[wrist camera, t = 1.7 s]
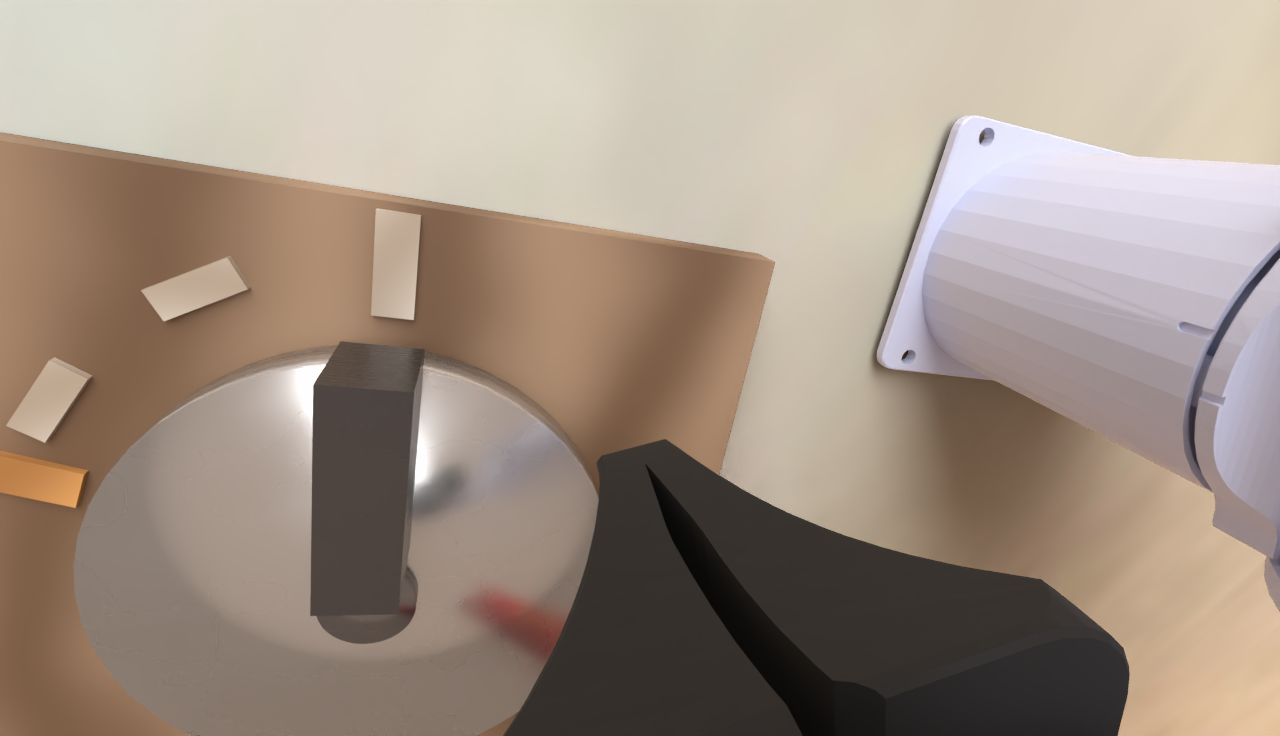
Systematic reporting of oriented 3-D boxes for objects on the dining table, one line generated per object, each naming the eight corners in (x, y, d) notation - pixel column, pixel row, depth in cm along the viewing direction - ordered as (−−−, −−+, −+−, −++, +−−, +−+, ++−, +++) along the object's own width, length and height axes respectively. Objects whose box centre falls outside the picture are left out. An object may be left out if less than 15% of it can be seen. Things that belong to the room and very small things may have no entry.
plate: (758, 253, 19) (778, 263, 17) (635, 737, 25) (644, 769, 24) (-101, 116, 13) (-165, 115, 12) (31, 785, 20) (0, 832, 18)
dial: (640, 352, 17) (680, 412, 14) (568, 710, 22) (585, 826, 18) (75, 294, 14) (-68, 355, 10) (129, 740, 18) (43, 891, 14)
